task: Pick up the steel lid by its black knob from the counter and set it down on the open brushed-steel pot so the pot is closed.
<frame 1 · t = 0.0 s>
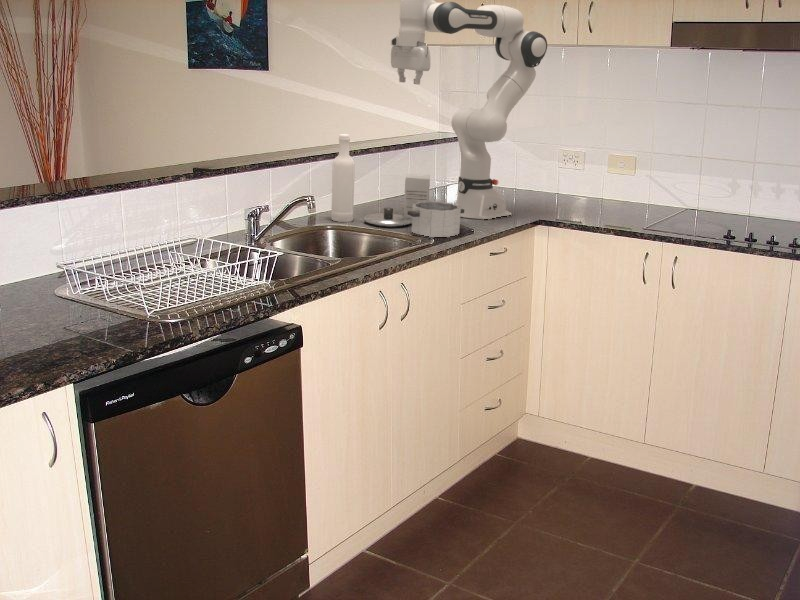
hand: (409, 83, 302), 48 cm above the counter, tool pointing down, fingers open, 8 cm apart
pot: (435, 232, 300), on the counter
bottle: (342, 220, 312), on the counter
lid: (387, 223, 311), on the counter
supplement box: (415, 217, 324), on the counter
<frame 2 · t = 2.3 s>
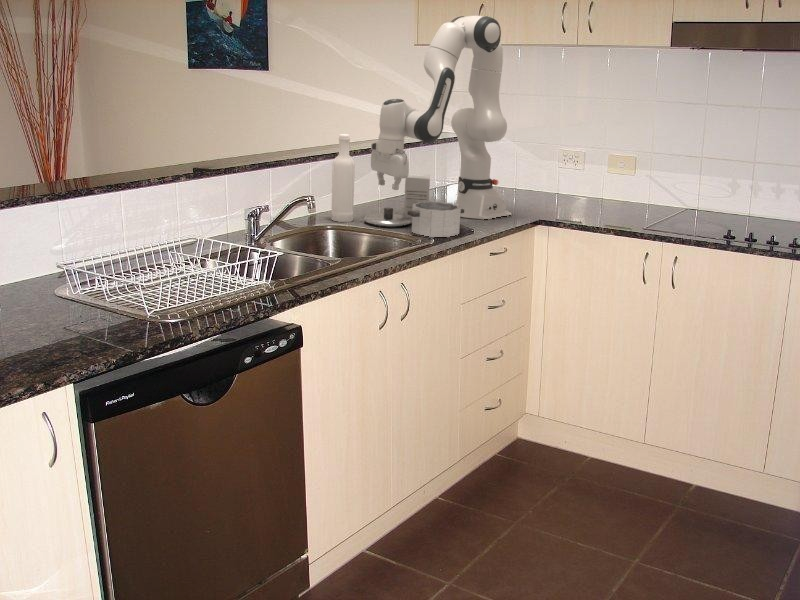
hand: (388, 187, 306), 13 cm above the counter, tool pointing down, fingers open, 8 cm apart
nothing on the counter moved.
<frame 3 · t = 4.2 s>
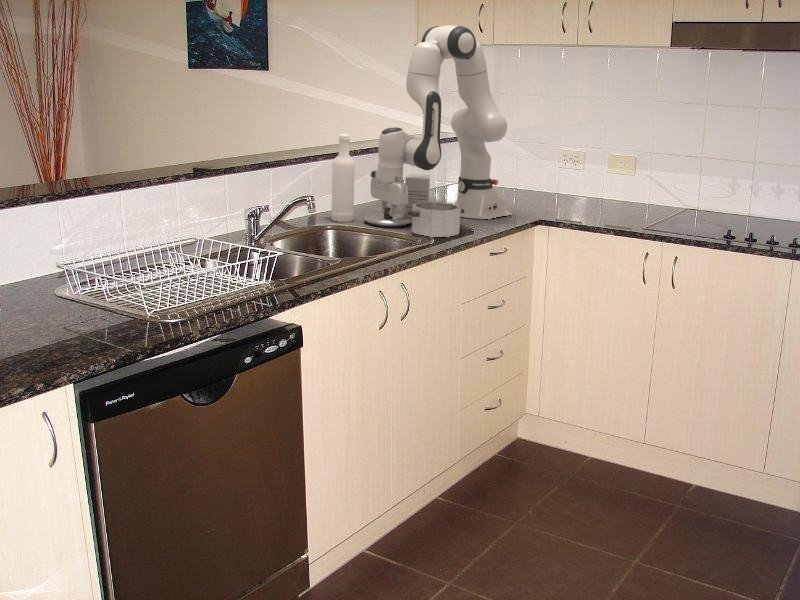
hand: (388, 214, 310), 3 cm above the counter, tool pointing down, fingers closed on lid, 3 cm apart
lid: (387, 223, 310), on the counter, touching gripper
everything else where it was.
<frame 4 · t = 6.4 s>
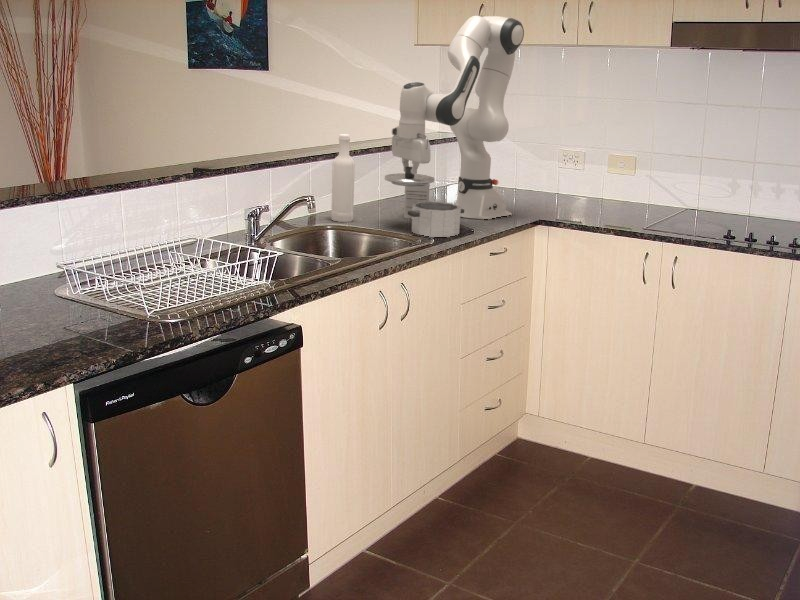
hand: (410, 173, 301), 19 cm above the counter, tool pointing down, fingers closed on lid, 3 cm apart
lid: (409, 183, 302), point 15 cm above the counter, touching gripper
everything else where it was.
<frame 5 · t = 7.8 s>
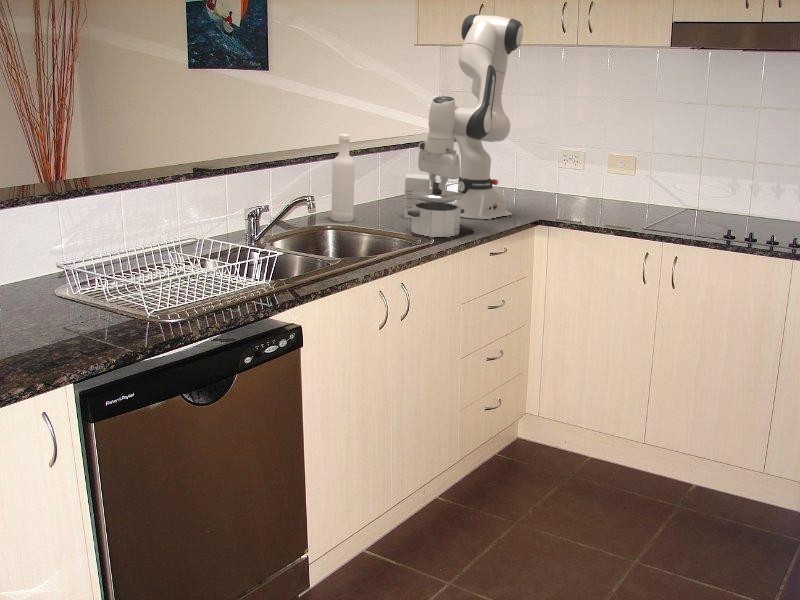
hand: (437, 188, 295), 15 cm above the counter, tool pointing down, fingers closed on lid, 3 cm apart
lid: (436, 199, 296), point 11 cm above the counter, touching gripper
everything else where it was.
when the fingers open (12 cm above the counter, at t = 8.9 s): lid stays where it is, resting on pot.
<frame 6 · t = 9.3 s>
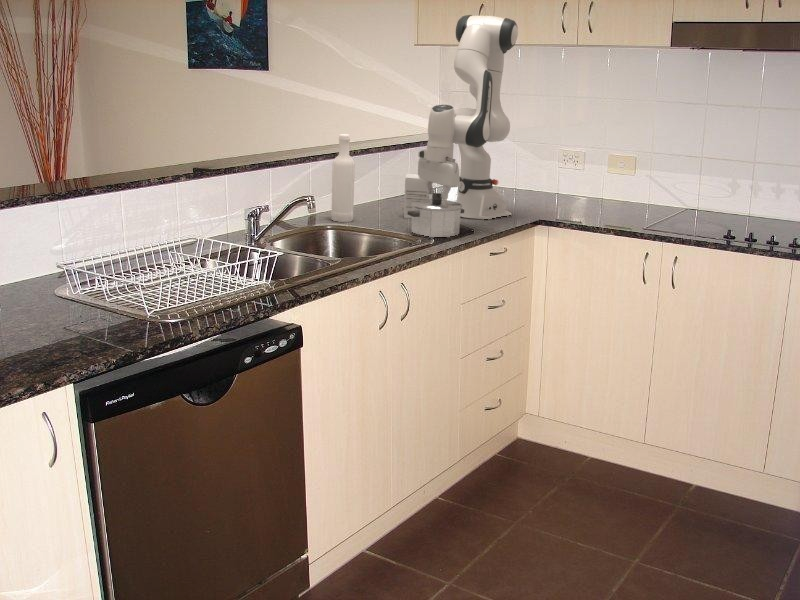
hand: (437, 196, 296), 12 cm above the counter, tool pointing down, fingers open, 7 cm apart
lid: (436, 209, 298), point 8 cm above the counter, touching pot
everything else where it was.
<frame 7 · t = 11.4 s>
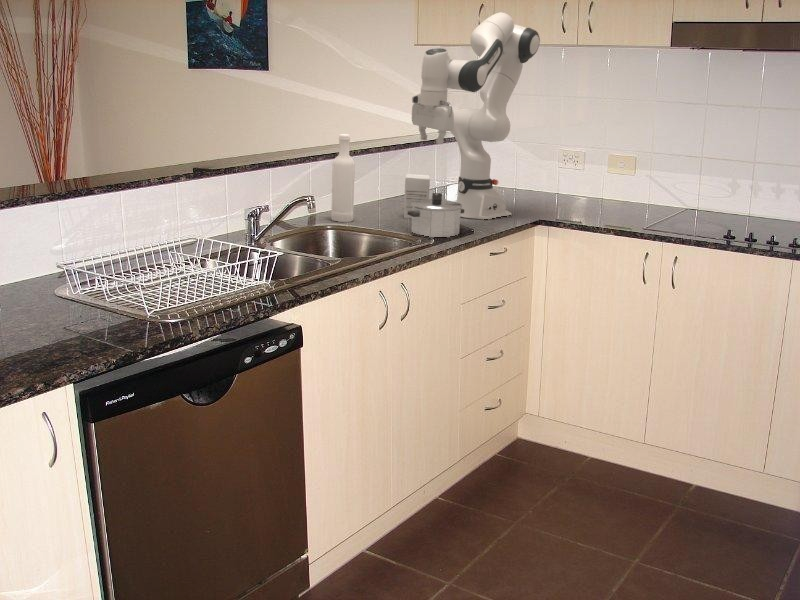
hand: (431, 141, 295), 30 cm above the counter, tool pointing down, fingers open, 8 cm apart
nothing on the counter moved.
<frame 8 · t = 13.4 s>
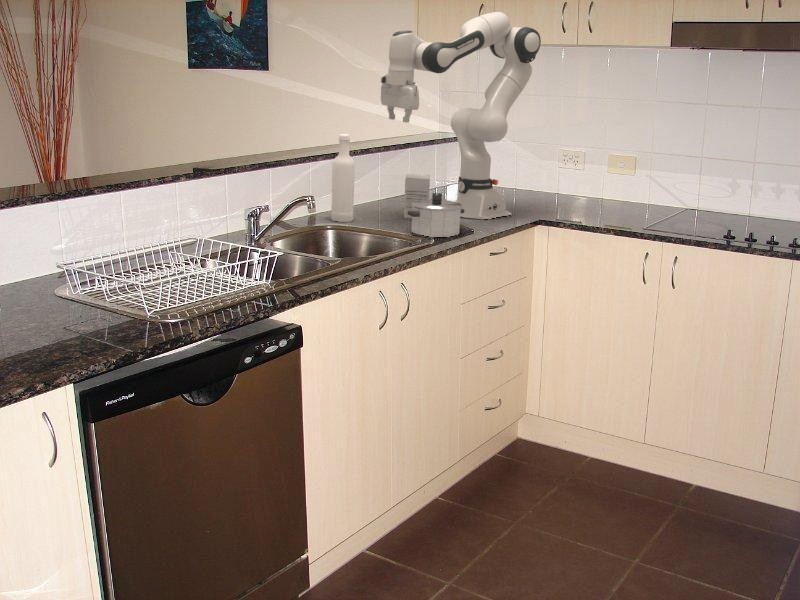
hand: (398, 120, 306), 35 cm above the counter, tool pointing down, fingers open, 8 cm apart
nothing on the counter moved.
at the end: lid 0.0 cm off-centre on the pot, point 7.8 cm above the pot's base; lid tilted 0°; the gripper is holding nothing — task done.
